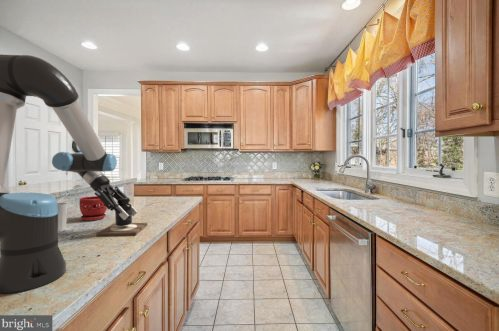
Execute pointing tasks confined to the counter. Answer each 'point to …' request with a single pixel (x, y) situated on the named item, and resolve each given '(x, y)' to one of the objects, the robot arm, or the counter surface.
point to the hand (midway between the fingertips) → (131, 215)
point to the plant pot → (92, 208)
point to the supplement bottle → (127, 208)
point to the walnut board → (122, 230)
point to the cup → (62, 215)
